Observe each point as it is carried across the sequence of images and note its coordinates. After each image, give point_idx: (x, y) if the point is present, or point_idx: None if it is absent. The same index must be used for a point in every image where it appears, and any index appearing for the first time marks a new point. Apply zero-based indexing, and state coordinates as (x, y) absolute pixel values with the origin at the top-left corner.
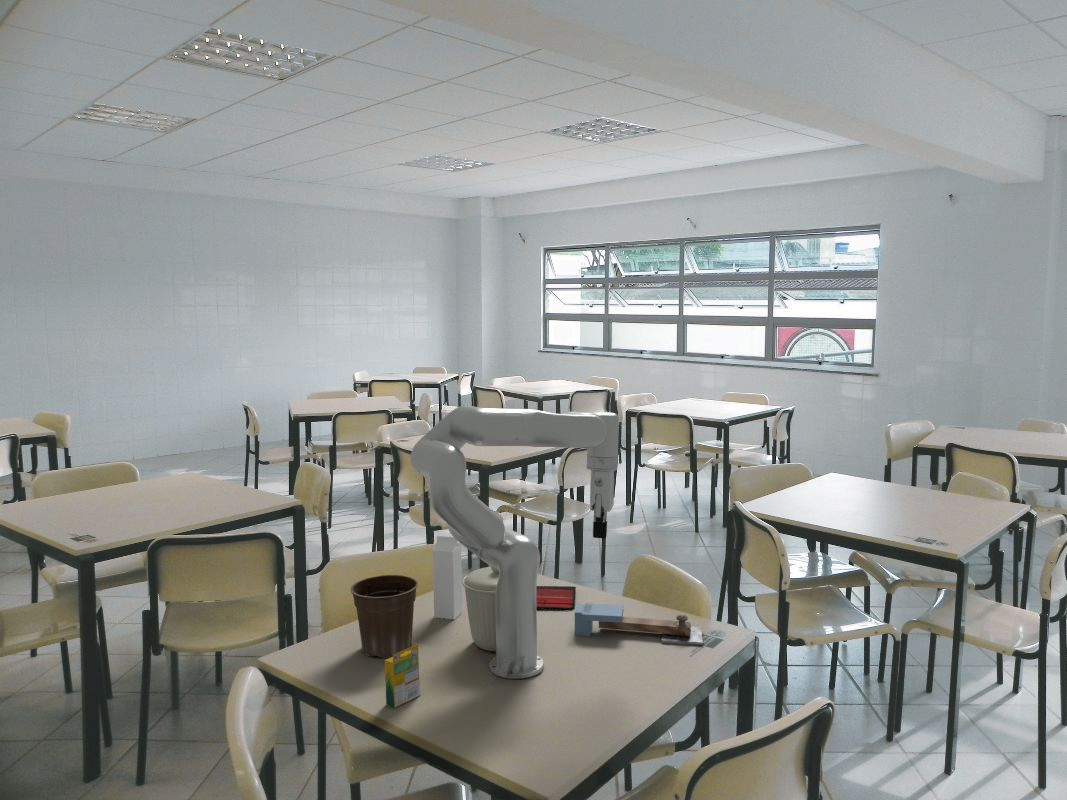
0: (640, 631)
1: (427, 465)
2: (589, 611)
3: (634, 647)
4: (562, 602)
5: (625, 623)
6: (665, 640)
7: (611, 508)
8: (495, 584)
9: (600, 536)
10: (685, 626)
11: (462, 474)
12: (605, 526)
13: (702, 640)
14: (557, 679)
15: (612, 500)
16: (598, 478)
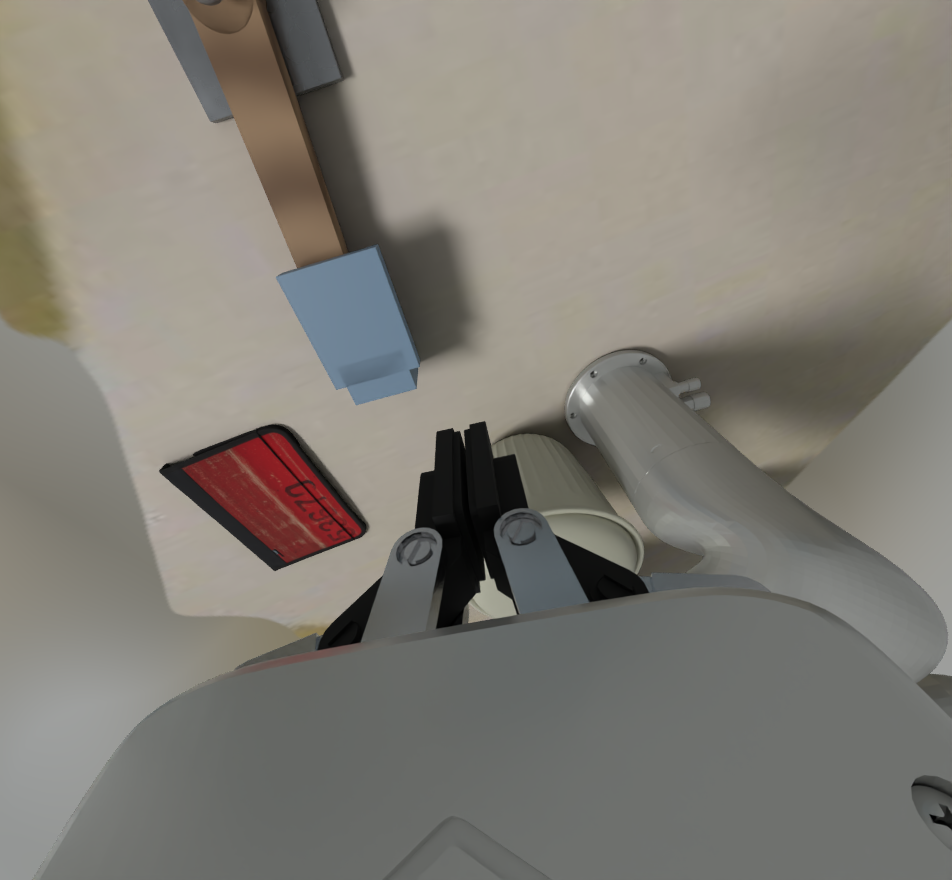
0: (325, 184)
1: None
2: (389, 356)
3: (419, 175)
4: (268, 457)
5: (339, 241)
6: (334, 59)
7: (562, 630)
8: (629, 563)
9: (493, 456)
10: None
11: None
12: (493, 481)
13: None
14: (655, 304)
15: (429, 833)
16: None
